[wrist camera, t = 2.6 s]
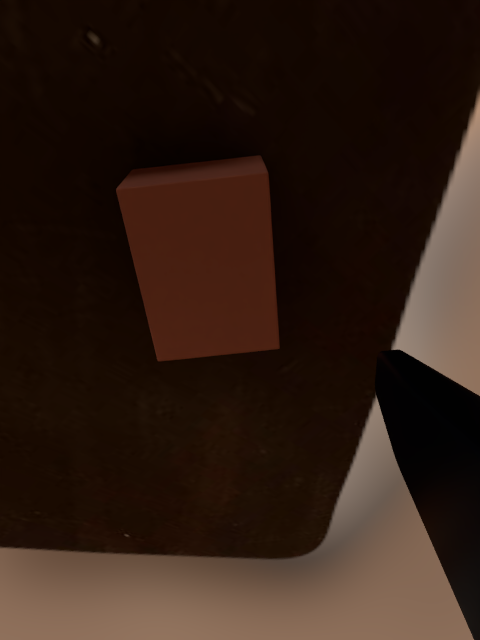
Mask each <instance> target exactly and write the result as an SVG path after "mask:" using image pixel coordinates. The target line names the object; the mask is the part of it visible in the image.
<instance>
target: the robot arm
mask: <svg viewBox="0 0 480 640" xmlns="http://www.w3.org/2000/svg"><path fill="white" fill-rule="evenodd" d="M375 391H376V395H377V399H378V402H379V405H380V409H381V412H382V415H383V419H384V422H385V425H386V429H387V432H388V435H389V438H390V441H391V445H392V449H393V452H394V455H395V458H396V461H397V463H398V466H399V468H400V471H401V473H402V475H403V478H404V480H405V482H406V485H407V487H408V489H409V491H410V494H411V496H412V498H413V501H414V503H415V505H416V508H417V510H418V512H419V514H420V517H421V519H422V521H423V523H424V526H425V528H426V531H427V533H428V535H429V537H430V540H431V542H432V544H433V546H434V549H435V551H436V553H437V556H438V558H439V560H440V563H441V565H442V567H443V569H444V572H445V574H446V576H447V578H448V581H449V583H450V585H451V588H452V590H453V592H454V595H455V597H456V599H457V601H458V604H459V606H460V608H461V611H462V613H463V615H464V618H465V620H466V622H467V624H468V627H469V629H470V631H471V633H472V636H473V638H474V640H480V396H479V395H477V394H475V393H473V392H472V391H470V390H468V389H467V388H465V387H463V386H461V385H460V384H458V383H456V382H454V381H453V380H451V379H449V378H448V377H446V376H444V375H443V374H441V373H439V372H438V371H436V370H434V369H432V368H431V367H429V366H427V365H426V364H424V363H422V362H420V361H419V360H417V359H415V358H414V357H412V356H410V355H408V354H406V353H405V352H403V351H401V350H389V351H381V352H380V353H379V354H378V357H377V367H376V378H375Z"/></svg>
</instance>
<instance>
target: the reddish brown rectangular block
mask: <svg viewBox="0 0 480 640" xmlns="http://www.w3.org/2000/svg"><path fill="white" fill-rule="evenodd" d="M116 192H117V196H118V200H119V204H120V208H121V213H122V217H123V221H124V225H125V229H126V233H127V237H128V241H129V245H130V249H131V253H132V258H133V262H134V266H135V270H136V274H137V278H138V282H139V286H140V290H141V294H142V299H143V303H144V307H145V311H146V315H147V319H148V323H149V327H150V331H151V335H152V339H153V344H154V348H155V352H156V356H157V360H158V361H168V360H178V359H187V358H197V357H206V356H216V355H226V354H235V353H245V352H254V351H264V350H273V349H279V348H280V345H279V329H278V313H277V298H276V282H275V267H274V251H273V235H272V220H271V204H270V188H269V173H268V171H267V169H266V166H265V164H264V162H263V160H262V157H261V156H260V155H257V156H248V157H240V158H231V159H222V160H213V161H204V162H195V163H186V164H177V165H169V166H160V167H151V168H142V169H133V170H132V171H131V172H130V173H129V174H128V175H127V177H126V178H125V179H124V180H123V181H122V183H121V184H120V185H119V186H118V187H117V189H116Z"/></svg>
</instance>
